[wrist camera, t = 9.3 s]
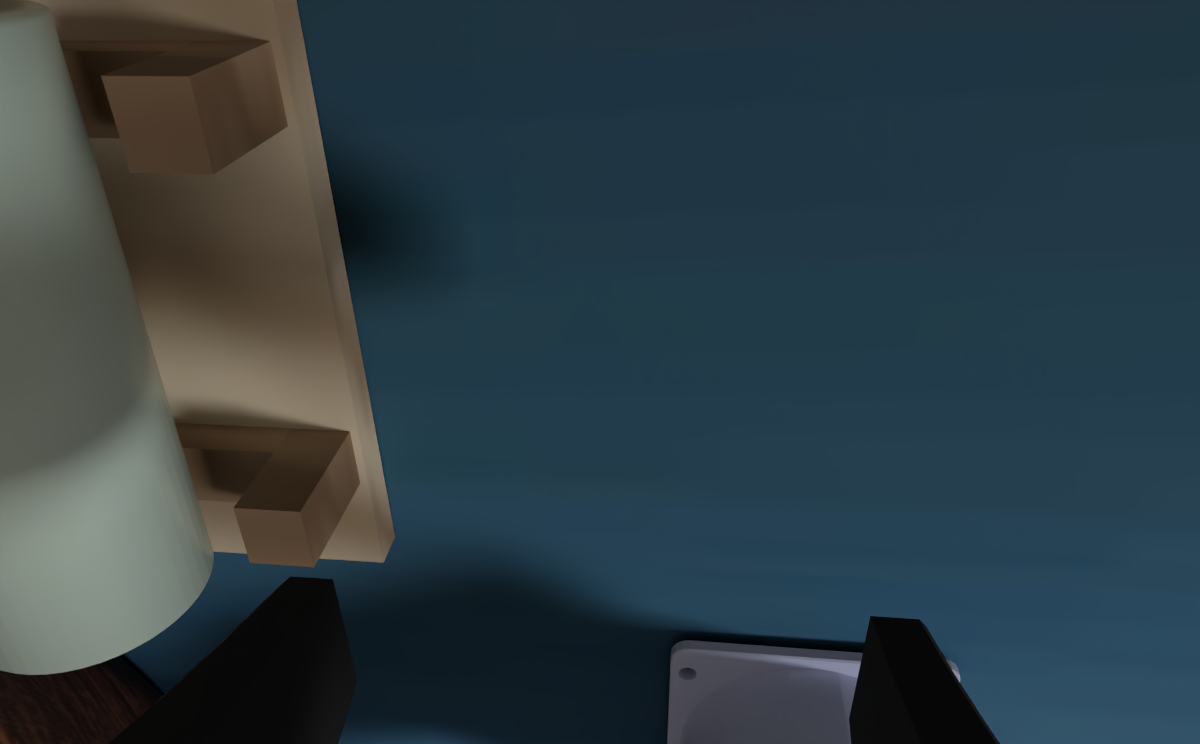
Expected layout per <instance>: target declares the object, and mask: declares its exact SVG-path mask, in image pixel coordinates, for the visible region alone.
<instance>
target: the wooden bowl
mask: <svg viewBox="0 0 1200 744" xmlns="http://www.w3.org/2000/svg"><path fill="white" fill-rule="evenodd" d="M161 697H162V696H161V695H160V694H159V693H158V692H157V690H156V689H155V688H154V687H153V686H152V685H151V684H150V683H149V682H148V681H147V680H146V679H145V678H144V677H142V676H141V675H140V674H139V673H138V672H137V671H136V670H135V669H134V668H133V667H132V666H131V665H129V664H128V663H127V662H126V661H124V660H123V659H122V658H121V657H120V656H117V657H115V658H112V659H110V660H107V661H104V662H102V663H99V664H96V665H92V666H89V667H85V668H82V669H77V670H73V671H68V672H63V673H54V674H46V675H25V674H14V673H10V672H5V671H1V670H0V744H108V743H109V742H110V741H111V740H112V739H114V738H115V737H116V736H117V735H118V734H119V733H121V732H122V731H123V730H124V729H125V728H126V727H128V726H129V725H130V724H131V723H132V722H134V721H135V720H136V719H137V718H138V717H139V716H141V715H142V714H143V713H144V712H145V711H146V710H147V709H149V708H150V707H151V706H152V705H153V704H154V703H155V702H156V701H158V700H159V699H160V698H161Z"/></svg>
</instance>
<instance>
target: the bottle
mask: <svg viewBox="0 0 1200 744" xmlns="http://www.w3.org/2000/svg"><path fill="white" fill-rule="evenodd" d="M213 560H214V556H213V548H212V545H211V541H210V538H209V535H208V531H207V528H206V525H205V521H204V518H203V515H202V511H201V508H200V505H199V501H198V498H197V495H196V491H195V488H194V485H193V482H192V478H191V475H190V472H189V468H188V465H187V462H186V458H185V455H184V452H183V448H182V445H181V442H180V438H179V435H178V432H177V429H176V425H175V422H174V419H173V415H172V412H171V409H170V405H169V402H168V399H167V395H166V392H165V389H164V385H163V382H162V379H161V376H160V372H159V369H158V366H157V362H156V359H155V356H154V352H153V349H152V346H151V342H150V339H149V336H148V332H147V329H146V326H145V323H144V319H143V316H142V313H141V309H140V306H139V303H138V299H137V296H136V293H135V289H134V286H133V283H132V279H131V276H130V273H129V269H128V266H127V263H126V260H125V256H124V253H123V250H122V246H121V243H120V240H119V236H118V233H117V230H116V226H115V223H114V220H113V216H112V213H111V210H110V207H109V203H108V200H107V197H106V193H105V190H104V187H103V183H102V180H101V177H100V173H99V170H98V167H97V163H96V160H95V157H94V154H93V150H92V147H91V144H90V140H89V137H88V134H87V130H86V127H85V124H84V120H83V117H82V114H81V110H80V107H79V104H78V100H77V97H76V94H75V91H74V87H73V84H72V81H71V77H70V74H69V71H68V67H67V64H66V61H65V57H64V54H63V51H62V47H61V44H60V41H59V38H58V34H57V31H56V28H55V24H54V21H53V18H52V14H51V11H50V9H49V7H47V6H46V5H43V4H40V3H36V2H31V1H24V0H0V670H1V671H5V672H10V673H14V674H25V675H46V674H54V673H63V672H68V671H73V670H77V669H82V668H85V667H89V666H92V665H96V664H99V663H102V662H104V661H107V660H110V659H112V658H115V657H117V656H119V655H122V654H124V653H126V652H128V651H130V650H132V649H134V648H136V647H138V646H140V645H141V644H143V643H145V642H147V641H148V640H150V639H152V638H153V637H155V636H156V635H158V634H159V633H161V632H162V631H164V630H165V629H166V628H167V627H169V626H170V625H171V624H172V623H174V622H175V621H176V620H177V619H178V618H179V617H180V616H182V615H183V614H184V613H185V612H186V611H187V610H188V609H189V608H190V606H191V605H192V604H193V603H194V602H195V601H196V599H197V598H198V597H199V595H200V594H201V592H202V591H203V589H204V588H205V586H206V584H207V581H208V579H209V577H210V574H211V571H212V568H213Z"/></svg>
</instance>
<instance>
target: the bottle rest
mask: <svg viewBox="0 0 1200 744" xmlns="http://www.w3.org/2000/svg"><path fill="white" fill-rule="evenodd" d="M24 1H31V2H36V3H40V4H43V5H46V6H47V7H49V9H50V11H51V14H52V18H53V21H54V24H55V28H56V31H57V34H58V38H59V41H60V44H61V47H62V51H63V54H64V57H65V61H66V64H67V67H68V71H69V74H70V77H71V81H72V84H73V87H74V91H75V94H76V97H77V100H78V104H79V107H80V110H81V114H82V117H83V120H84V124H85V127H86V130H87V134H88V137H89V140H90V144H91V147H92V150H93V154H94V157H95V160H96V163H97V167H98V170H99V173H100V177H101V180H102V183H103V187H104V190H105V193H106V197H107V200H108V203H109V207H110V210H111V213H112V216H113V220H114V223H115V226H116V230H117V233H118V236H119V240H120V243H121V246H122V250H123V253H124V256H125V260H126V263H127V266H128V269H129V273H130V276H131V279H132V283H133V286H134V289H135V293H136V296H137V299H138V303H139V306H140V309H141V313H142V316H143V319H144V323H145V326H146V329H147V332H148V336H149V339H150V342H151V346H152V349H153V352H154V356H155V359H156V362H157V366H158V369H159V372H160V376H161V379H162V382H163V385H164V389H165V392H166V395H167V399H168V402H169V405H170V409H171V412H172V415H173V419H174V422H175V425H176V429H177V432H178V435H179V438H180V442H181V445H182V448H183V452H184V455H185V458H186V462H187V465H188V468H189V472H190V475H191V478H192V482H193V485H194V488H195V491H196V495H197V498H198V501H199V505H200V508H201V511H202V515H203V518H204V521H205V525H206V528H207V531H208V535H209V538H210V541H211V545H212V548H213V551H215V552H230V553H245V554H248V558H249V561H250V563H258V564H273V565H288V566H303V567H315V565H316V563H317V561H318V559H319V558H321V559H336V560H351V561H367V562H382V563H384V561H385V558H386V556H387V554H388V552H389V550H390V547H391V545H392V543H393V541H394V539H395V534H394V529H393V523H392V518H391V513H390V507H389V502H388V496H387V491H386V485H385V480H384V475H383V469H382V464H381V458H380V453H379V447H378V442H377V436H376V431H375V426H374V420H373V415H372V409H371V404H370V398H369V393H368V388H367V382H366V377H365V371H364V366H363V360H362V355H361V349H360V344H359V339H358V333H357V328H356V322H355V317H354V311H353V306H352V300H351V295H350V290H349V284H348V279H347V273H346V268H345V262H344V257H343V252H342V246H341V241H340V235H339V230H338V224H337V219H336V213H335V208H334V203H333V197H332V192H331V186H330V181H329V175H328V170H327V165H326V159H325V154H324V148H323V143H322V137H321V132H320V126H319V121H318V116H317V110H316V105H315V99H314V94H313V88H312V83H311V78H310V72H309V67H308V61H307V56H306V50H305V45H304V39H303V34H302V29H301V23H300V18H299V12H298V7H297V1H296V0H24Z"/></svg>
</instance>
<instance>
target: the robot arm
mask: <svg viewBox="0 0 1200 744" xmlns="http://www.w3.org/2000/svg"><path fill="white" fill-rule="evenodd" d="M685 668H691V669H685ZM356 682H357V678H356V673H355V669H354V665H353V661H352V657H351V653H350V649H349V645H348V640H347V636H346V632H345V628H344V624H343V620H342V616H341V611H340V607H339V603H338V599H337V595H336V591H335V587H334V583H333V579H319V578H304V577H289V578H288V579H287V580H286V581H285V582H284V583H283V584H282V585H281V586H280V587H278V588H277V589H276V590H275V591H274V592H273V593H272V594H271V595H270V596H269V597H268V598H267V599H266V600H264V601H263V602H262V603H261V604H260V605H259V606H258V607H257V608H256V609H255V610H254V611H253V612H252V613H251V614H250V615H249V616H248V617H247V618H246V619H245V620H244V621H242V622H241V623H240V624H239V625H238V626H237V627H236V628H235V629H234V630H233V631H232V632H231V633H230V634H229V635H228V636H227V637H226V638H225V639H224V640H223V641H221V642H220V643H219V644H218V645H217V646H216V647H215V648H214V649H213V650H212V651H211V652H210V653H209V654H208V655H207V656H206V657H205V658H203V659H202V660H201V661H200V662H199V663H198V664H197V665H196V666H195V667H194V668H193V669H191V670H190V671H189V672H188V673H187V674H186V675H185V676H184V677H183V678H182V679H181V680H179V681H178V682H177V683H176V684H175V685H174V686H173V687H172V688H171V689H170V690H169V691H167V692H166V693H165V694H164V695H163V696H162V697H161V698H160V699H159V700H158V701H156V702H155V703H154V704H153V705H152V706H151V707H150V708H149V709H147V710H146V711H145V712H144V713H143V714H142V715H141V716H139V717H138V718H137V719H136V720H135V721H134V722H132V723H131V724H130V725H129V726H128V727H126V728H125V729H124V730H123V731H122V732H121V733H119V734H118V735H117V736H116V737H115V738H114V739H112V740H111V741H110V742H109V743H108V744H338V742H339V738H340V735H341V732H342V729H343V726H344V723H345V720H346V716H347V713H348V709H349V706H350V702H351V699H352V695H353V692H354V689H355V685H356ZM667 744H1000V743H999V742H998V740H997V739H996V737H995V736H994V734H993V733H992V731H991V730H990V728H989V727H988V725H987V724H986V722H985V721H984V719H983V718H982V716H981V715H980V713H979V712H978V710H977V709H976V707H975V705H974V704H973V702H972V701H971V699H970V698H969V696H968V695H967V693H966V691H965V690H964V688H963V687H962V685H961V684H960V674H959V671H958V668H957V666H956V665H955V663H953V662H951V661H950V660H946V659H945V658H944V656H943V654H942V653H941V651H940V649H939V648H938V646H937V644H936V642H935V641H934V639H933V637H932V636H931V634H930V632H929V630H928V629H927V627H926V626H925V625H924V624H923V623H922V622H921V621H920V620H919V619H904V618H890V617H875V616H870V621H869V626H868V631H867V635H866V640H865V645H864V650H863V653H858V652H844V651H830V650H816V649H802V648H789V647H775V646H761V645H747V644H733V643H719V642H706V641H692V640H686V641H681V642H678V643H676V644H675V645H674V646H673V647H672V650H671V664H670V689H669V713H668V738H667Z"/></svg>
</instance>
